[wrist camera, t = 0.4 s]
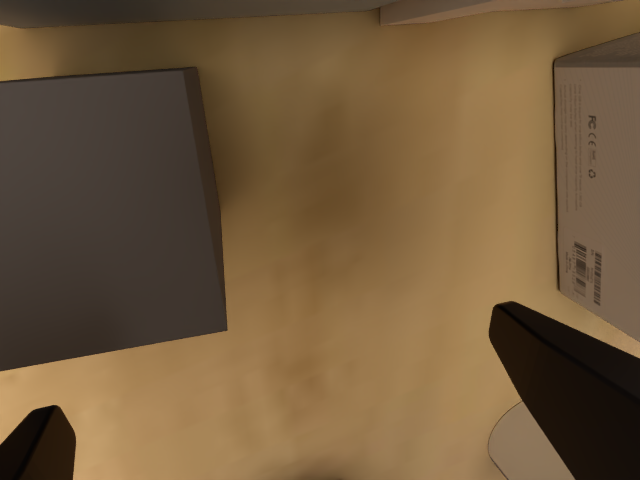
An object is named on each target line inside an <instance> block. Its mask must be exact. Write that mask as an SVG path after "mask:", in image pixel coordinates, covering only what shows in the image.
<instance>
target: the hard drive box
mask: <svg viewBox="0 0 640 480" xmlns="http://www.w3.org/2000/svg"><path fill="white" fill-rule="evenodd" d="M554 82H555V142H556V160H557V197H558V234H557V238H558V258H559V276H560V292H561V293H562V294H563V295H565V296H567V297H568V298H570V299H571V300H573V301H575V302H576V303H578V304H579V305H581V306H583V307H584V308H586V309H587V310H589V311H591V312H592V313H594V314H595V315H597V316H599V317H600V318H602V319H603V320H605V321H607V322H608V323H610V324H611V325H613V326H615V327H616V328H618V329H619V330H621V331H623V332H624V333H626V334H627V335H629V336H631V337H632V338H634V339H635V340H637V341H639V342H640V32H639V33H636V34H633V35H629V36H626V37H623V38H619V39H616V40H613V41H610V42H607V43H603V44H600V45H597V46H594V47H590V48H587V49H584V50H581V51H578V52H575V53H572V54H569V55H566V56H563V57H560V58H557V59H556V60H555V63H554Z"/></svg>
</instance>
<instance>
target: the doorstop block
mask: <svg viewBox="0 0 640 480" xmlns="http://www.w3.org/2000/svg"><path fill="white" fill-rule="evenodd" d="M222 331H227V314H226V297H225V280H224V263H223V246H222V229H221V213H220V206H219V200H218V194H217V187H216V181H215V175H214V169H213V162H212V156H211V150H210V144H209V137H208V131H207V125H206V119H205V112H204V106H203V100H202V94H201V87H200V81H199V75H198V69H197V67H185V68H171V69H157V70H142V71H128V72H113V73H99V74H84V75H70V76H55V77H43V78H32V79H20V80H9V81H0V371H5V370H10V369H16V368H21V367H27V366H32V365H38V364H44V363H49V362H55V361H60V360H66V359H71V358H77V357H83V356H88V355H94V354H99V353H105V352H111V351H116V350H122V349H127V348H133V347H138V346H144V345H150V344H155V343H161V342H166V341H172V340H177V339H183V338H189V337H194V336H200V335H205V334H211V333H217V332H222Z"/></svg>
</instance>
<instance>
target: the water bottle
mask: <svg viewBox="0 0 640 480" xmlns="http://www.w3.org/2000/svg"><path fill="white" fill-rule="evenodd" d="M488 451H489V455H490V458H491V459H492V461H493V462H494V463H495V465H496V466H497V467H498V468H499V470H500V471H501V472H502V473H503V475H504V476H505V477H506V478H507V480H575V479H574V477H573V476H572V474H571V473H570V471H569V470H568V468H567V467H566V465H565V464H564V462H563V461H562V459H561V458H560V456H559V455H558V453H557V452H556V450H555V449H554V447H553V446H552V444H551V443H550V442H549V440H548V439H547V437H546V436H545V434H544V433H543V431H542V430H541V428H540V427H539V425H538V424H537V422H536V421H535V419H534V418H533V416H532V415H531V413H530V412H529V410H528V409H527V407H526V406H525V404H524V402H521V403H519V404H517V405H516V406H514V407H513V408H512V409H510V410H509V411H508V412H507V413H506V414H505V415H504V416H503V417H502V418H501V419H500V420H499V422H498V423H497V424H496V426H495V428H494V429H493V431H492V433H491V436H490V439H489V444H488Z"/></svg>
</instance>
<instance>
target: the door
mask: <svg viewBox="0 0 640 480" xmlns="http://www.w3.org/2000/svg"><path fill="white" fill-rule="evenodd" d="M396 1H399V0H0V25H5V26H11V27H16V28H36V27H56V26H76V25H96V24H116V23H136V22H156V21H176V20H196V19H216V18H236V17H257V16H277V15H297V14H317V13H337V12H357V11H369V10H372V9H375V8H378V7H381V6H384V5H387V4H390V3H393V2H396Z"/></svg>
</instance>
